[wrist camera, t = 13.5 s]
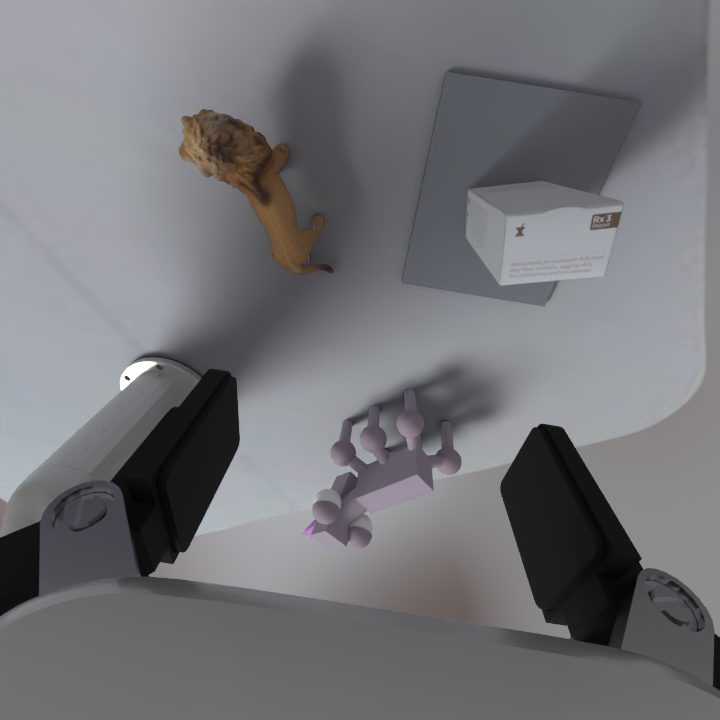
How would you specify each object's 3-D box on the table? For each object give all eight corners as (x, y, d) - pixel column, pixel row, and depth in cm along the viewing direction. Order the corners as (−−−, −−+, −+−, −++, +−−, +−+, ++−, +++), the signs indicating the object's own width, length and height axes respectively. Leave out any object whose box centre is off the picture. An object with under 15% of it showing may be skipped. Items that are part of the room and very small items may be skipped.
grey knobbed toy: (344, 482, 53) (324, 574, 41) (297, 437, 49) (260, 525, 38) (461, 431, 44) (477, 530, 33) (415, 373, 41) (414, 461, 29)
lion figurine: (212, 138, 29) (146, 141, 22) (258, 95, 27) (202, 82, 20) (314, 282, 35) (290, 323, 28) (357, 256, 33) (344, 292, 26)
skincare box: (464, 240, 31) (493, 293, 21) (467, 184, 28) (500, 214, 18) (538, 232, 30) (605, 285, 20) (547, 174, 27) (629, 200, 17)
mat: (542, 303, 34) (544, 306, 33) (401, 280, 34) (401, 282, 34) (637, 102, 25) (642, 102, 24) (445, 72, 25) (446, 71, 25)
